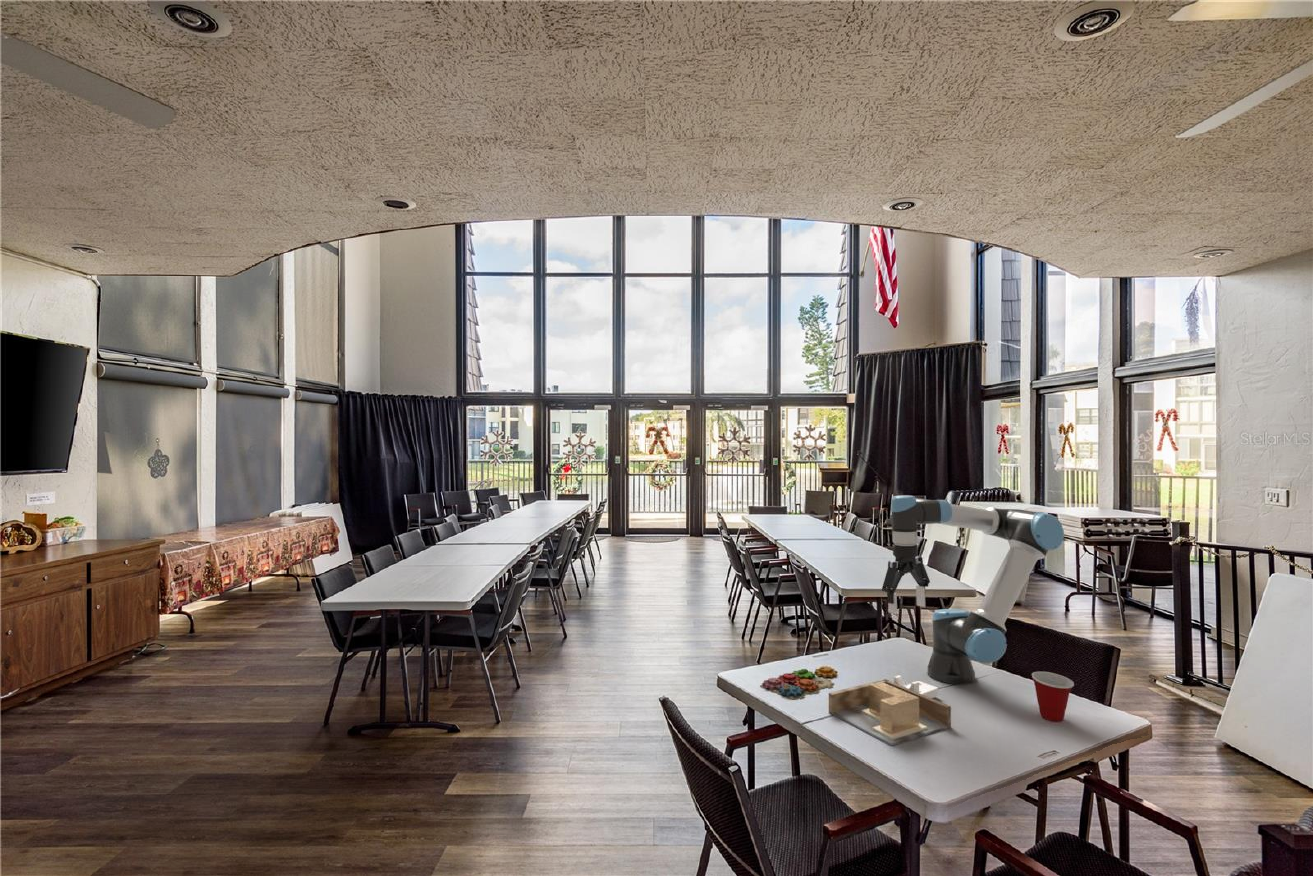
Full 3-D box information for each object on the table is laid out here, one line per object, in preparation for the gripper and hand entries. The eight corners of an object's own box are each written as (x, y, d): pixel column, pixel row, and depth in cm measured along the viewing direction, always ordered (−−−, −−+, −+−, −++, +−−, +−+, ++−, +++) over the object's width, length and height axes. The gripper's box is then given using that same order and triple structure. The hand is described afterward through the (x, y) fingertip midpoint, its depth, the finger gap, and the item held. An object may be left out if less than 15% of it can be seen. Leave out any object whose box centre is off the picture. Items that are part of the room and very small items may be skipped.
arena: (885, 698, 207) (885, 679, 207) (950, 727, 186) (950, 706, 186) (828, 712, 196) (828, 692, 196) (891, 745, 174) (891, 723, 174)
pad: (880, 707, 198) (880, 705, 198) (927, 729, 183) (927, 727, 183) (846, 716, 192) (846, 714, 192) (892, 739, 177) (892, 737, 177)
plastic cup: (1063, 729, 184) (1063, 687, 184) (1024, 716, 193) (1024, 676, 193) (1081, 720, 190) (1081, 679, 190) (1042, 707, 199) (1042, 668, 199)
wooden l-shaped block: (919, 726, 184) (919, 697, 184) (891, 734, 179) (891, 705, 179) (881, 708, 196) (881, 681, 196) (854, 715, 191) (854, 688, 191)
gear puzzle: (817, 668, 236) (817, 657, 236) (854, 681, 223) (854, 669, 223) (757, 688, 217) (757, 675, 217) (794, 703, 204) (794, 690, 204)
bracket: (914, 708, 199) (914, 684, 199) (894, 700, 205) (894, 677, 205) (938, 698, 207) (938, 675, 207) (918, 691, 213) (918, 668, 213)
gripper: (920, 538, 217) (922, 601, 218) (868, 546, 205) (871, 613, 205) (940, 540, 211) (942, 605, 211) (887, 550, 198) (890, 619, 198)
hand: (907, 609), depth 208 cm, fingers open, 13 cm apart
